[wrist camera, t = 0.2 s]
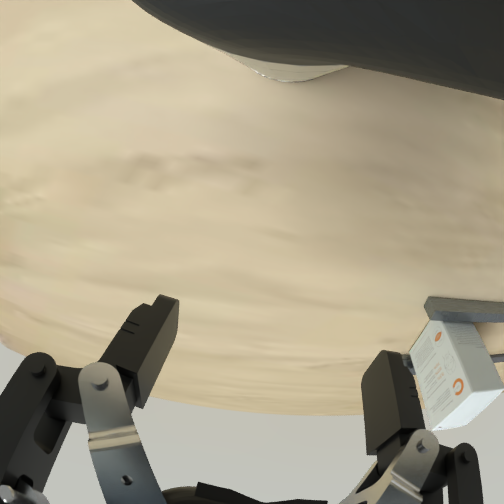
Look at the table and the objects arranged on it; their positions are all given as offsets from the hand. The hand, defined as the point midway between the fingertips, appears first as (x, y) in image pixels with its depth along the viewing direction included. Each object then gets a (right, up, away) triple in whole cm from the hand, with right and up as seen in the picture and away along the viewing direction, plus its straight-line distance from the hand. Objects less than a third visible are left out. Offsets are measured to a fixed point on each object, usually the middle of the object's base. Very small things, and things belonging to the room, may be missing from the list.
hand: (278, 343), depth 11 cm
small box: (+24, -7, +23) cm, 34 cm away
